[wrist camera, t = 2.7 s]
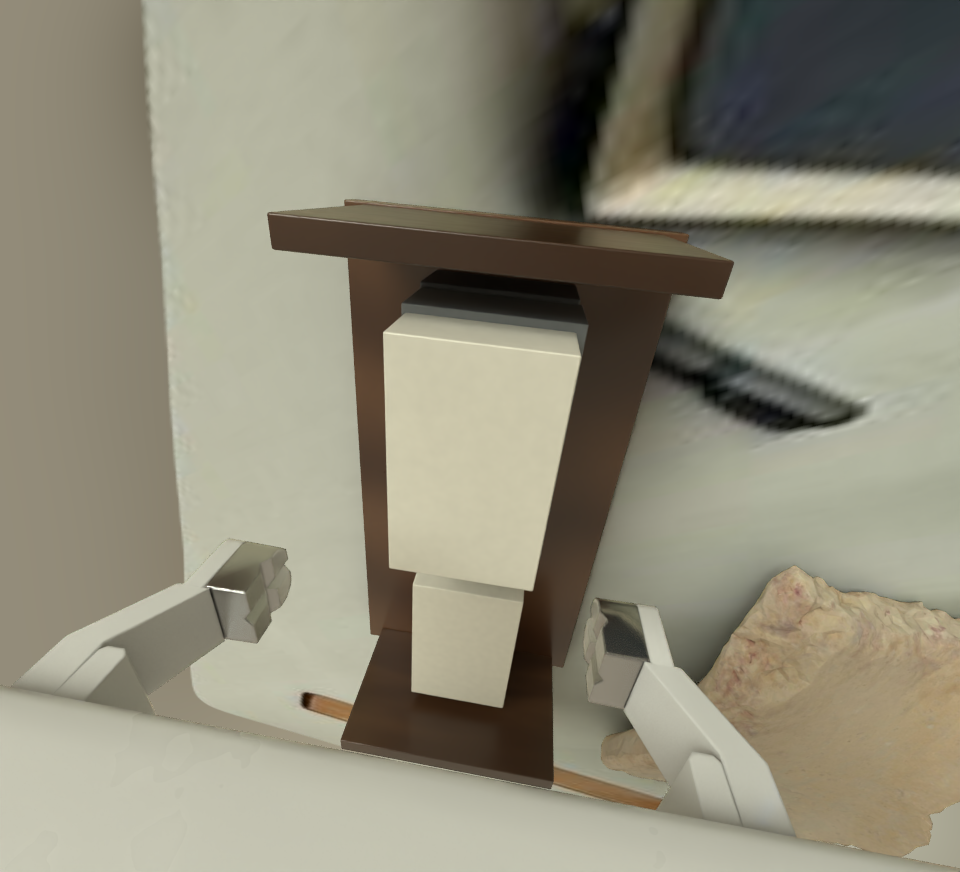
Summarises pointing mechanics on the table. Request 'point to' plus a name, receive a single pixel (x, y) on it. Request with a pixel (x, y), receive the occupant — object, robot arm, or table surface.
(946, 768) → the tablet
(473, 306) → the grey books
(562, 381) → the ivory book
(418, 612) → the cream rectangular block
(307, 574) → the table surface
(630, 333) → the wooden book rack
